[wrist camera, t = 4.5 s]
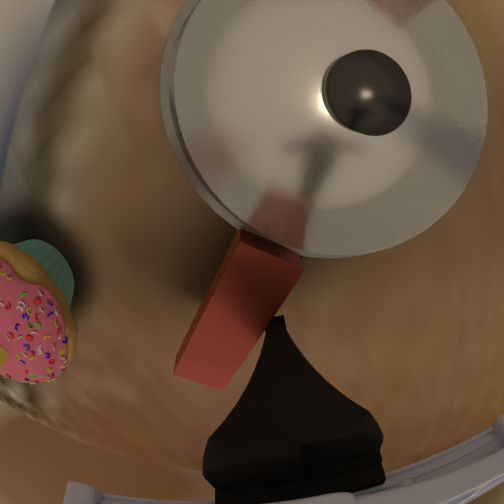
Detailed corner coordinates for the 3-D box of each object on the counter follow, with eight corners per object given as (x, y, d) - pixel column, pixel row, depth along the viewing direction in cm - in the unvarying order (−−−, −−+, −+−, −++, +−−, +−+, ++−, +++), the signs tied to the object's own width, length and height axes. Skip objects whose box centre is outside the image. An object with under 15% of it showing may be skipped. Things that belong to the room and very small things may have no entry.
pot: (475, 24, 10) (521, 19, 7) (308, 340, 19) (321, 388, 16) (276, -95, 8) (287, -135, 4) (112, 276, 17) (87, 320, 13)
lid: (315, -131, 4) (325, -153, 2) (520, 18, 7) (545, 16, 5) (89, 320, 13) (75, 347, 11) (300, 390, 15) (306, 417, 14)
